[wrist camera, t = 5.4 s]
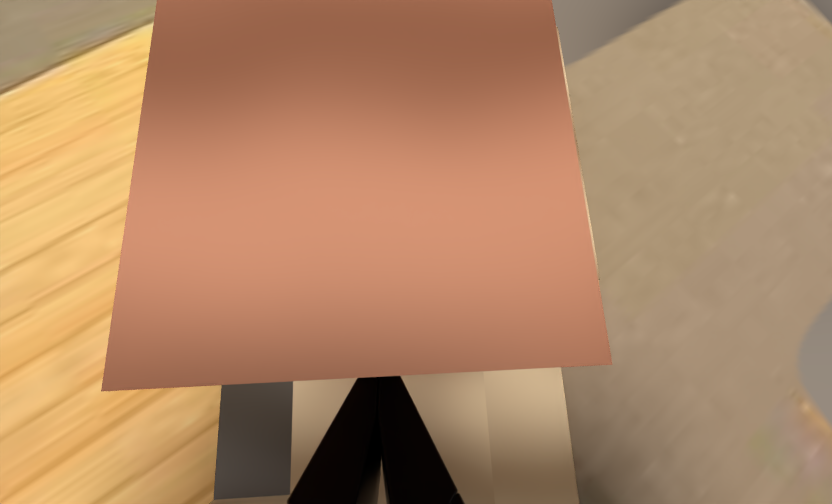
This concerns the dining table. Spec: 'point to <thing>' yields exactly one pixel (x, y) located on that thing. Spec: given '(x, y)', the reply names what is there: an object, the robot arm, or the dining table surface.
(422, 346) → the block
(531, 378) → the shallow open box
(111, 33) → the dining table surface
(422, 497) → the robot arm
